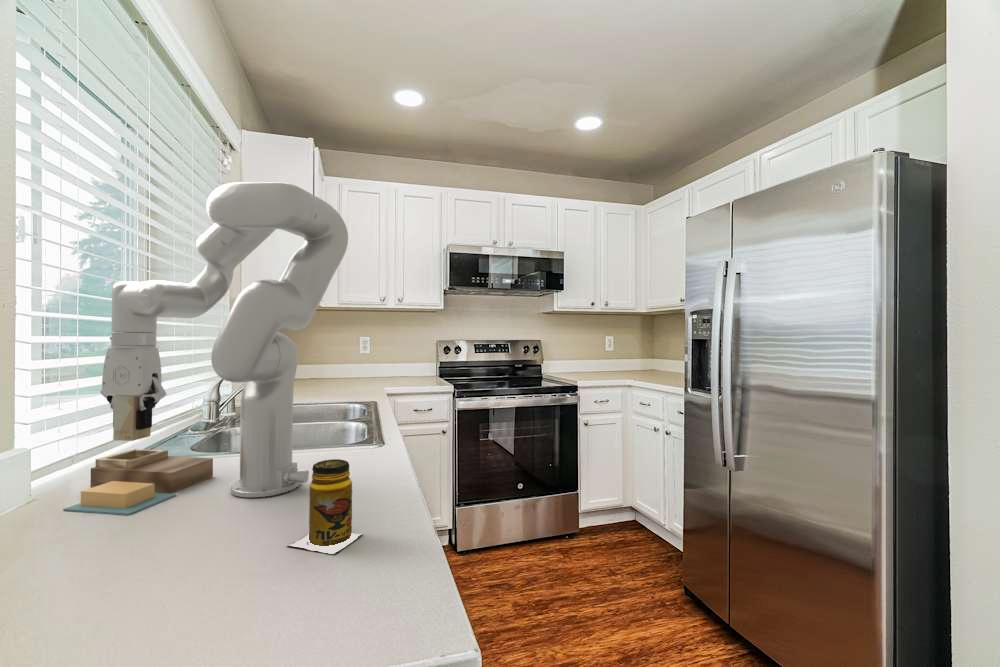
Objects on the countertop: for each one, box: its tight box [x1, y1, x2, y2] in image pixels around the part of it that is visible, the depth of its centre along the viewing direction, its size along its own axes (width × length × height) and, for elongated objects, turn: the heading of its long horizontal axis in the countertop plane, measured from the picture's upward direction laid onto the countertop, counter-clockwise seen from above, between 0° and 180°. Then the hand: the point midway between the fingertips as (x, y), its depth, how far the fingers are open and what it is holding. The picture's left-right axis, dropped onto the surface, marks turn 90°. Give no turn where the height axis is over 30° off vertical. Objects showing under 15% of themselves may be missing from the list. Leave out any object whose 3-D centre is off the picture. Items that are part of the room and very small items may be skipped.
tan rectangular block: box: [80, 481, 155, 508], centre depth 88 cm, size 9×6×2 cm, turn 82°
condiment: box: [308, 458, 353, 546], centre depth 72 cm, size 7×8×12 cm
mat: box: [62, 492, 177, 516], centre depth 88 cm, size 13×10×1 cm
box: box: [112, 393, 152, 442], centre depth 100 cm, size 5×4×11 cm
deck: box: [89, 448, 214, 494], centre depth 100 cm, size 18×11×6 cm, turn 82°
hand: (132, 427), depth 100 cm, fingers closed on box, 4 cm apart
